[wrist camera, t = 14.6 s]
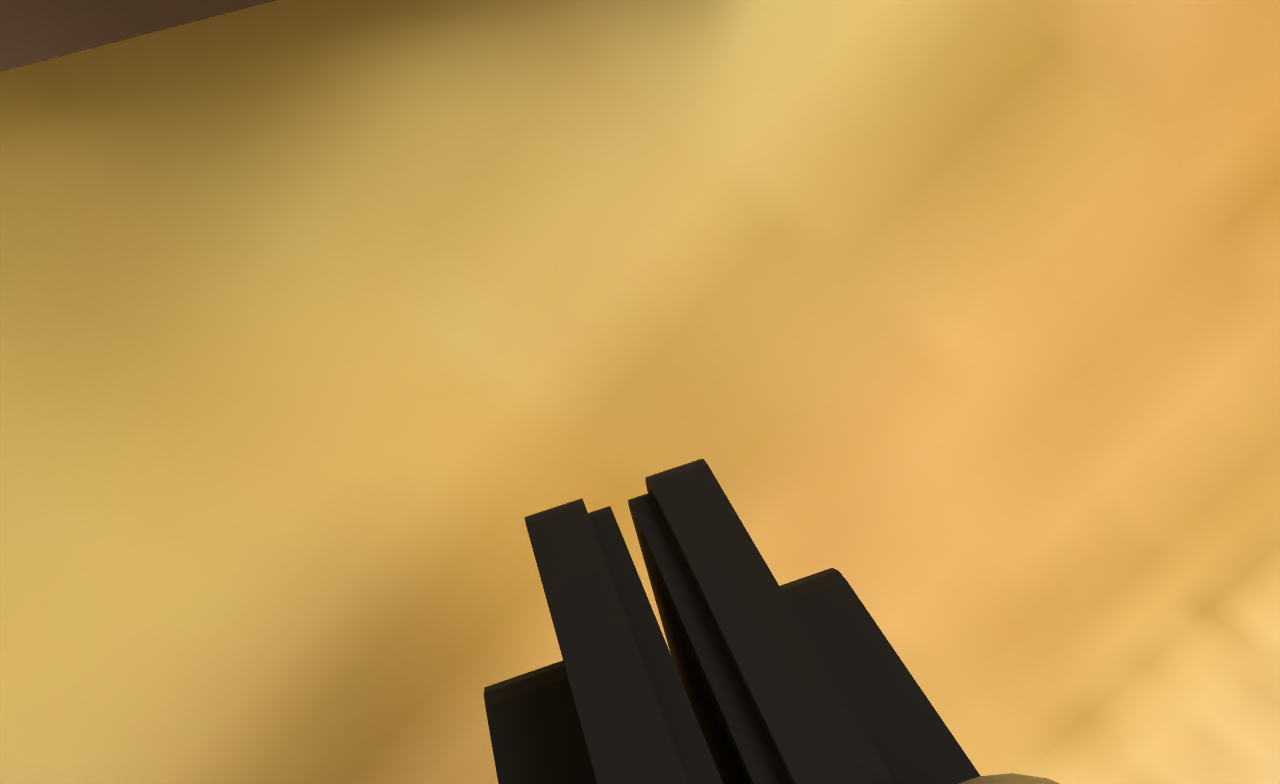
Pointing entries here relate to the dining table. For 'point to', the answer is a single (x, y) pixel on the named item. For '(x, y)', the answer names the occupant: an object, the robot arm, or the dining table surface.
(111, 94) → the dining table surface
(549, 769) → the robot arm
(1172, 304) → the dining table surface
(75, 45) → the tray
